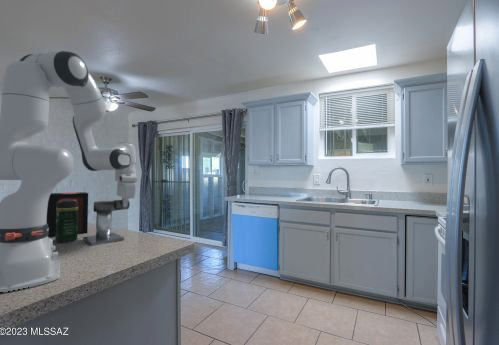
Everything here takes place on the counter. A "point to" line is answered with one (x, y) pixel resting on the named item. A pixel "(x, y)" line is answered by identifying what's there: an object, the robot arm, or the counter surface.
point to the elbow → (109, 206)
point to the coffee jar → (66, 220)
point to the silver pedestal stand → (103, 230)
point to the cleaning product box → (82, 211)
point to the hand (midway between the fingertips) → (124, 206)
